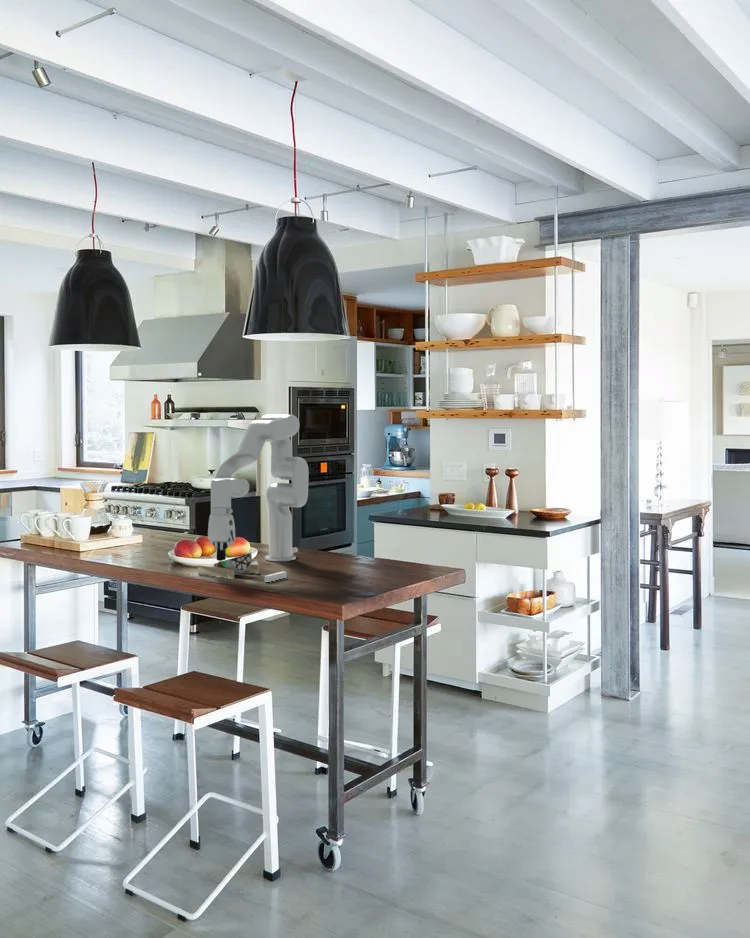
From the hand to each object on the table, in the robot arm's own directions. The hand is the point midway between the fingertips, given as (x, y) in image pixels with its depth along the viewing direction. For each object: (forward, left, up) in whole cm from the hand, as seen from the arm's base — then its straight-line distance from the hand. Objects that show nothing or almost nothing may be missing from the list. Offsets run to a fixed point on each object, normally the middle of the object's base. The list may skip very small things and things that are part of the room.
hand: (221, 559), depth 341 cm
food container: (0, +2, -3) cm, 4 cm away
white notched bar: (0, +25, -5) cm, 26 cm away
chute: (0, +3, -5) cm, 6 cm away
